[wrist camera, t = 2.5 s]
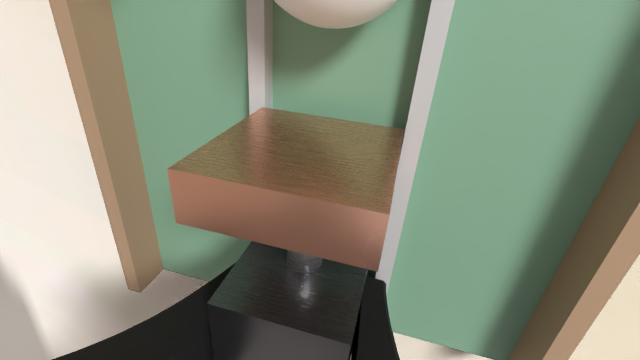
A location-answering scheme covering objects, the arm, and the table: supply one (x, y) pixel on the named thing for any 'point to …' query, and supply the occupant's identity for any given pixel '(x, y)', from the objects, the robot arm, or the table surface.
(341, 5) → the ball
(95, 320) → the table surface
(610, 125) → the pitch
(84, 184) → the table surface
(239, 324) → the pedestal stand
